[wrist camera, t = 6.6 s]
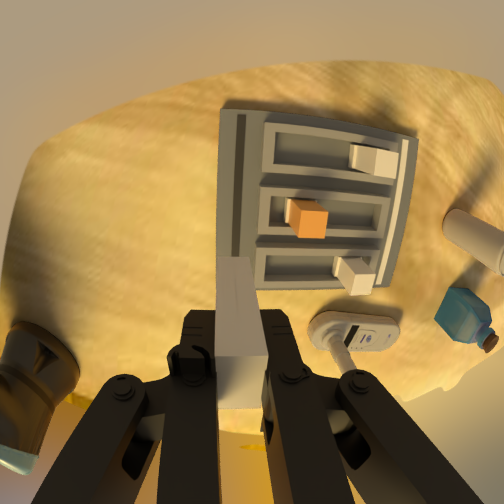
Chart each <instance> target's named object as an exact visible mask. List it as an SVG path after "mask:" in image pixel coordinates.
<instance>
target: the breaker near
mask: <svg viewBox="0 0 504 504" xmlns="http://www.w3.org/2000/svg"><path fill="white" fill-rule="evenodd" d="M398 156H399V153H396V152H391V151H387V150H382V149H377V148H371V147H364V146H358V145H351V144H350V153H349V162H348V167H349V168H353V169H357V170H360V171H363V172H366V173H369V174H371V175H375V176H381V177H387V178H393V179H396V172H397V165H398Z"/></svg>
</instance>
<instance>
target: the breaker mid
mask: <svg viewBox="0 0 504 504" xmlns="http://www.w3.org/2000/svg"><path fill="white" fill-rule="evenodd" d="M327 218H328V211H327V210H325V209H324V208H323V207H322V206H321V205H319V204H318V203H317V200H316V199H314V198H299V197H285V207H284V218H283V220H284V222H285V223H289V225H290V226H291V228H292V229H293V231H294V232H295V234H296V235H297V237H298V238H325V232H326V225H327Z"/></svg>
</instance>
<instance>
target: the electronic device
mask: <svg viewBox="0 0 504 504" xmlns="http://www.w3.org/2000/svg"><path fill="white" fill-rule="evenodd" d="M307 334H308V336H309V338H310V341H311V343H312V345H313V346H314V347H315V348H316V349H318V350H322V351H330V352H331V355H332V357H333V359H334V361H335V362H336V363H337V365H338V367H339V369H340V371H341V373H342V375H343V374H344V373H345V372H347V371H349V370H354V369H357V368H356V366H355V364H354V362H353V361H352V359H351V357H350V353H349V352H381V351H384V350H386V349H388V348H389V347H391V346H392V345H393V344H394V343H395V342H396V340H397V339H398V337H399V334H400V328H399V326H398V325H397V323H396V322H395V321H394V320H393V319H392V318H391V317H386V316H376V315H365V314H356V313H346V312H337V311H326V312H323V313H321V314H319V315H317V316H316V317H315V318H314V319H313V320H312V321H311V322H310V324H309V327H308V332H307Z"/></svg>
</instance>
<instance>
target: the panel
mask: <svg viewBox="0 0 504 504" xmlns="http://www.w3.org/2000/svg"><path fill="white" fill-rule="evenodd" d="M418 142H419V139H417V138H413V137H410V136H406V135H402V134H399V133H395V132H391V131H387V130H383V129H379V128H374V127H370V126H365V125H360V124H356V123H350V122H345V121H340V120H334V119H328V118H322V117H315V116H308V115H300V114H291V113H282V112H271V111H258V110H241V109H220V124H219V145H218V172H217V209H216V284H217V261H218V257H249V259H250V264H251V269H252V274H253V279H254V285H255V290H320V289H345V288H344V286H343V285H342V283H341V282H340V280H339V279H338V278H337V277H334V275H333V274H332V273H331V272H332V267H333V262H334V257H335V256H361V257H362V260H363V261H364V262H365V263H366V264H367V265H368V266H369V267H370V268H371V270H372V271H373V272H374V273H375V274H376V276H375V279H374V283H373V287H372V288H376V287H389V286H390V283H391V279H392V276H393V272H394V269H395V265H396V262H397V258H398V254H399V250H400V246H401V242H402V238H403V233H404V229H405V224H406V220H407V215H408V210H409V205H410V199H411V194H412V188H413V181H414V175H415V167H416V160H417V151H418ZM350 144H351V145H358V146H364V147H371V148H377V149H382V150H387V151H391V152H396V153H399V156H398V165H397V172H396V179H393V178H387V177H381V176H375V175H371V174H369V173H366V172H363V171H360V170H357V169H353V168H349V167H348V162H349V153H350ZM285 197H299V198H314V199H316V200H317V203H318V204H319V205H321V206H322V207H323V208H324V209H325V210H327V211H328V218H327V225H326V232H325V238H298V237H297V235H296V234H295V232H294V231H293V229H292V228H291V226H290V225H289V223H285V222H284V220H283V218H284V207H285Z"/></svg>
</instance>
